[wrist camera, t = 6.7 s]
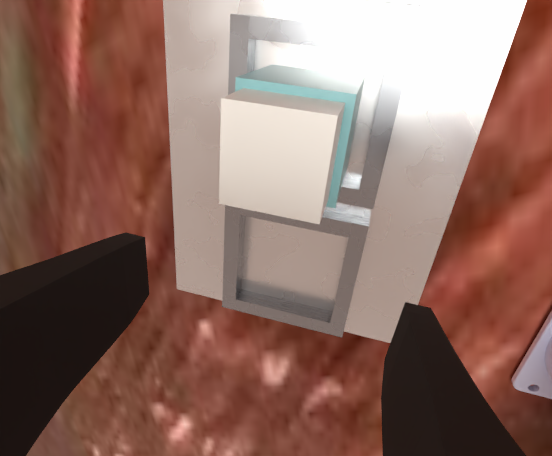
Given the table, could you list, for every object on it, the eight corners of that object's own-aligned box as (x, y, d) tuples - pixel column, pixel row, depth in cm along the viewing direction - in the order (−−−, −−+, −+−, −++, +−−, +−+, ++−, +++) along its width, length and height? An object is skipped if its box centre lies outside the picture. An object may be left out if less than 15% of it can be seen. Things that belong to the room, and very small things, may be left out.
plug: (365, 76, 16) (350, 106, 10) (347, 168, 18) (327, 234, 12) (271, 64, 16) (211, 85, 11) (264, 153, 18) (210, 209, 13)
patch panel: (630, -306, 10) (664, -352, 9) (402, 340, 22) (403, 359, 21) (157, -286, 13) (131, -320, 11) (180, 284, 25) (169, 298, 23)
